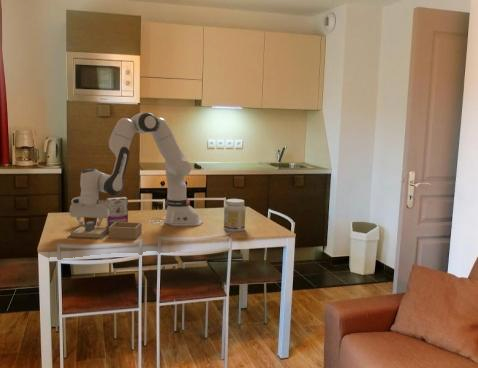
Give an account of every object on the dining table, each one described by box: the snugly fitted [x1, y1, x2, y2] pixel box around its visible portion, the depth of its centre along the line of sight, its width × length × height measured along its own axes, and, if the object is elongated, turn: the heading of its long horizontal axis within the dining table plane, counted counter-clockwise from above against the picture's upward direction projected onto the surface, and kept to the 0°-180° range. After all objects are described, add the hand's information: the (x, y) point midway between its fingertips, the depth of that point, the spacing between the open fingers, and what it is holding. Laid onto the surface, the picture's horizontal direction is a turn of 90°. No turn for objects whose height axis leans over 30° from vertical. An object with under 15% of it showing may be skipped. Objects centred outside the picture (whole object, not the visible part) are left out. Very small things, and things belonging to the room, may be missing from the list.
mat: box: [67, 230, 109, 240], centre depth 258 cm, size 18×16×1 cm
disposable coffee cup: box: [83, 217, 98, 226], centre depth 278 cm, size 10×10×12 cm
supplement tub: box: [223, 198, 247, 233], centre depth 277 cm, size 12×12×17 cm
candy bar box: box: [105, 196, 129, 229], centre depth 275 cm, size 11×5×16 cm, turn 117°
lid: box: [70, 221, 109, 238], centre depth 257 cm, size 15×13×6 cm
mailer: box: [108, 221, 143, 240], centre depth 257 cm, size 14×12×6 cm
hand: (89, 225), depth 257 cm, fingers open, 8 cm apart
